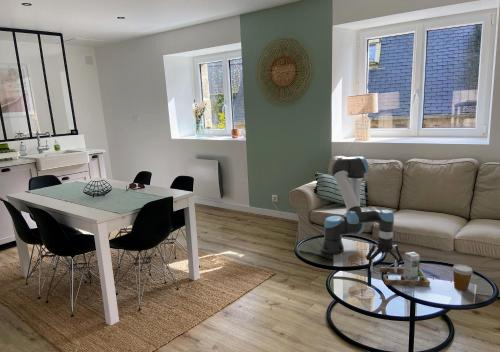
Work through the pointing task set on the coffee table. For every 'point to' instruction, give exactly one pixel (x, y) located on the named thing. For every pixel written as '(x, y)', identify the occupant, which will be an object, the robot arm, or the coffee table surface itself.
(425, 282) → the wooden tray
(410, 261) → the syrup box
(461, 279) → the disposable coffee cup
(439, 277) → the coffee table surface
